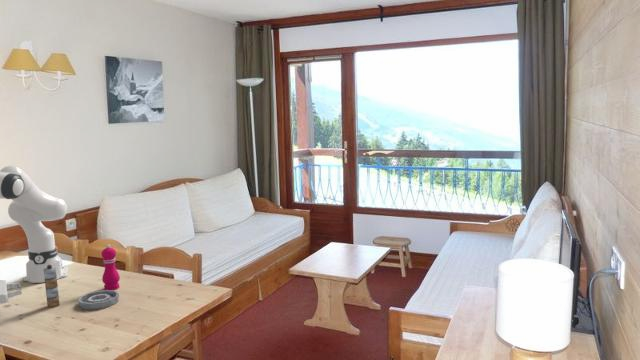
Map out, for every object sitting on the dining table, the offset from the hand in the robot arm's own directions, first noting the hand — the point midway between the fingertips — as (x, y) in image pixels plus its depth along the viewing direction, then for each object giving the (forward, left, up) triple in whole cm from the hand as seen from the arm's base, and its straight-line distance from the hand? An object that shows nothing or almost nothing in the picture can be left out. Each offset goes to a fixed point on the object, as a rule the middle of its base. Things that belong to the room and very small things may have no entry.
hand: (21, 288), depth 201 cm
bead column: (-4, +10, -10) cm, 14 cm away
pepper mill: (-19, +30, -10) cm, 37 cm away
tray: (-1, +28, -10) cm, 30 cm away
